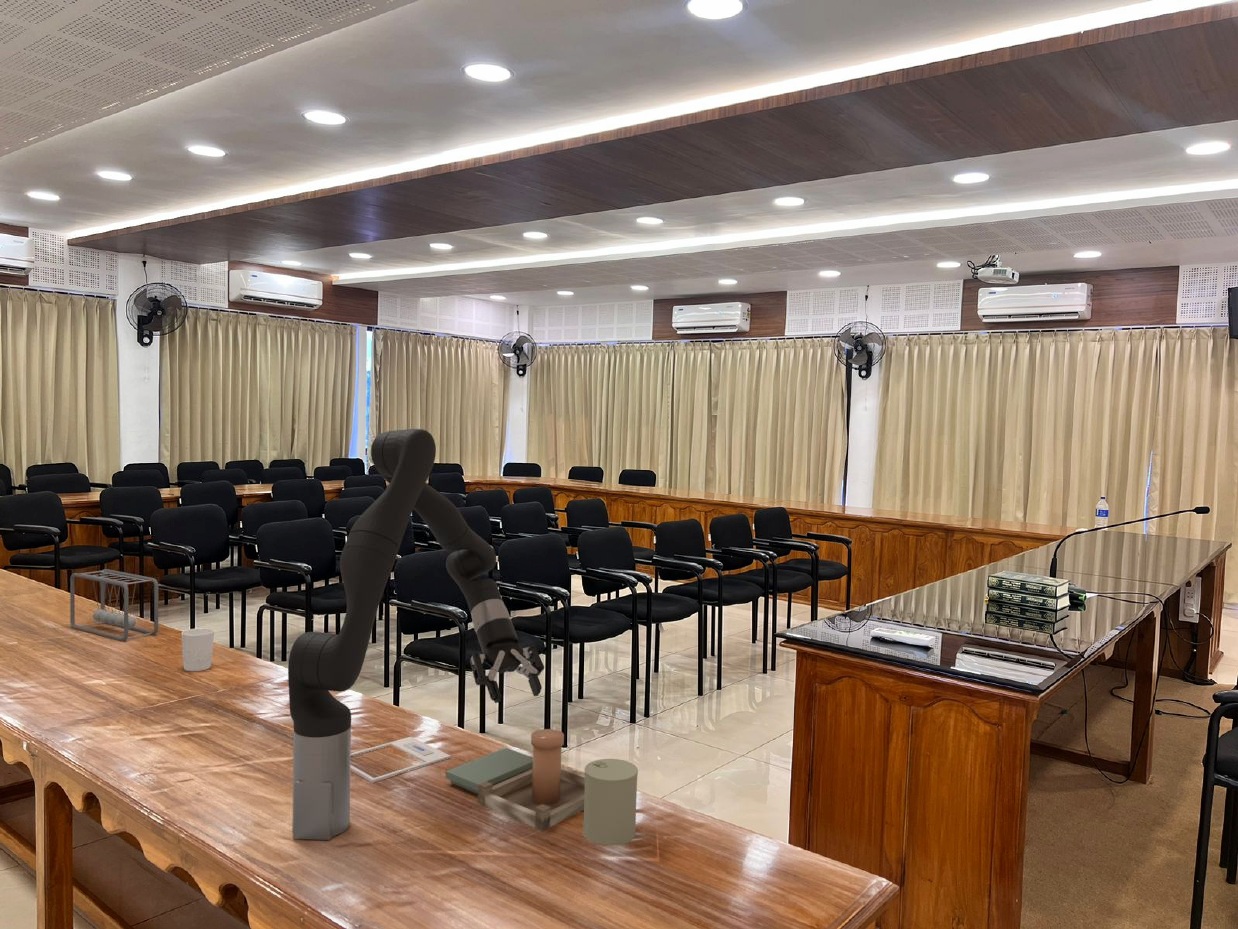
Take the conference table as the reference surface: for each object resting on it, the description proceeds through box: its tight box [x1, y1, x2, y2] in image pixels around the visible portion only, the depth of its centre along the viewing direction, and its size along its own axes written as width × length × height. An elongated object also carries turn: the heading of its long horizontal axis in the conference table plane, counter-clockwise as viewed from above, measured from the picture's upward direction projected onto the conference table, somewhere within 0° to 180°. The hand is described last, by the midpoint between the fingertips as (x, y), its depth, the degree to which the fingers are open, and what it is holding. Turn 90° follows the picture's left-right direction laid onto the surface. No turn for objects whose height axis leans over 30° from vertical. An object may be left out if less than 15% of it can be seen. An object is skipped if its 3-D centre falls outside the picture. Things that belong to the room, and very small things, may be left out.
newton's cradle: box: [69, 568, 159, 642], centre depth 269 cm, size 30×10×18 cm, turn 60°
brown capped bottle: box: [530, 728, 565, 805], centre depth 159 cm, size 6×6×12 cm
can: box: [582, 758, 639, 846], centre depth 147 cm, size 9×9×12 cm
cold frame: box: [477, 765, 585, 832], centre depth 159 cm, size 16×19×4 cm
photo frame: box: [350, 736, 451, 784], centre depth 176 cm, size 15×1×18 cm
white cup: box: [181, 627, 215, 672], centre depth 234 cm, size 8×8×10 cm
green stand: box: [445, 747, 533, 795], centre depth 168 cm, size 9×16×3 cm, turn 142°
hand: (518, 697), depth 168 cm, fingers open, 8 cm apart
